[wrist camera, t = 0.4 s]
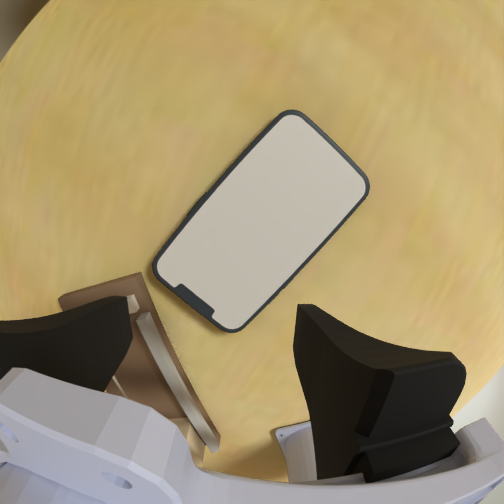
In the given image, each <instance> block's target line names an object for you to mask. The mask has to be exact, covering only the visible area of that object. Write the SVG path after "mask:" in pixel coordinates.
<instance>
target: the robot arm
mask: <svg viewBox="0 0 504 504" xmlns="http://www.w3.org/2000/svg"><path fill="white" fill-rule="evenodd" d="M132 340H133V333H132V327H131V321H130V315H129V308H128V301H127V296H116V295H114V296H109V297H105V298H102V299H99V300H96V301H93V302H90V303H87V304H84V305H82V306H79V307H76V308H73V309H69V310H66V311H63V312H60V313H56V314H53V315H48V316H44V317H39V318H32V319H24V320H11V321H0V504H478V503H480V502H481V501H482V500H483V499H484V498H485V497H487V496H488V495H489V494H490V493H491V492H492V491H493V490H494V489H495V488H496V487H497V486H498V485H499V484H500V483H501V482H502V481H503V480H504V441H503V440H502V438H501V437H500V436H499V434H498V433H497V432H496V431H495V429H494V428H493V427H492V426H491V424H490V423H489V422H488V420H487V419H486V418H482V419H480V420H478V421H475V422H473V423H471V424H469V425H467V426H464V427H463V428H461V429H460V430H459V431H457V432H456V433H455V434H454V433H453V431H452V430H451V428H450V427H452V425H453V419H452V418H451V417H450V415H449V414H450V412H451V410H452V409H453V407H454V405H455V403H456V401H457V400H458V398H459V396H460V394H461V392H462V389H463V387H464V385H465V380H466V369H465V366H464V365H463V364H462V363H461V362H460V361H459V360H458V359H457V358H456V356H455V355H454V354H453V353H451V352H440V351H425V350H418V349H412V348H407V347H402V346H398V345H394V344H391V343H387V342H384V341H381V340H378V339H375V338H373V337H370V336H368V335H366V334H363V333H361V332H359V331H357V330H355V329H353V328H351V327H349V326H348V325H346V324H344V323H342V322H341V321H339V320H337V319H336V318H334V317H333V316H331V315H330V314H328V313H326V312H325V311H323V310H322V309H320V308H319V307H317V306H315V305H313V304H298V305H297V315H296V324H295V333H294V342H293V351H294V358H295V365H296V369H297V372H298V376H299V379H300V382H301V386H302V389H303V392H304V396H305V399H306V403H307V406H308V410H309V415H310V421H309V422H305V423H301V424H296V425H292V426H287V427H283V428H278V429H276V430H275V435H276V437H277V440H278V442H279V444H280V447H281V449H282V452H283V454H284V456H285V459H286V462H287V470H288V479H289V483H287V482H277V481H269V480H261V479H254V478H248V477H242V476H237V475H232V474H227V473H222V472H218V471H213V470H209V469H205V468H201V467H197V466H195V464H194V462H193V460H192V456H191V452H190V448H189V444H188V442H187V441H186V439H185V437H184V436H183V434H182V433H181V431H180V430H179V428H178V427H177V425H176V424H174V423H173V422H172V421H170V420H169V419H167V418H166V417H164V416H163V415H162V414H160V413H159V412H157V411H156V410H155V409H153V408H152V407H150V406H147V405H144V404H142V403H139V402H136V401H133V400H131V399H128V398H126V397H122V396H117V395H113V394H108V393H104V391H105V389H106V387H107V386H108V384H109V382H110V381H111V379H112V377H113V376H114V374H115V372H116V371H117V369H118V368H119V366H120V364H121V363H122V361H123V359H124V358H125V356H126V354H127V352H128V350H129V347H130V345H131V342H132Z"/></svg>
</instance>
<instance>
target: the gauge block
mask: <svg viewBox="0 0 504 504" xmlns="http://www.w3.org/2000/svg"><path fill="white" fill-rule="evenodd" d="M169 420H170V421H172V422H173V423H174V424H176V425H177V427H178V428H179V430H180V431H181V433H182V434H183V436H184V437H185V439H186V441H187V442H188V444H189V448H190V452H191V456H192V460H193V462H194V464H195V466H197V467H201V468H202V464H203V457H204V450H205V442H204V441H203V439H202V438H201V436H200V435H199V433H198V432H197V430H196V429H195V427H194V426H193V424H192V423H191V421H190V420H189V418H188V417H187V418H175V419H169Z"/></svg>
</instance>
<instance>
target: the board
mask: <svg viewBox="0 0 504 504" xmlns="http://www.w3.org/2000/svg"><path fill="white" fill-rule="evenodd" d="M114 295H116V296H127V301H128V308H129V315H130V321H131V327H132V333H133V340H132V342H131V345H130V347H129V350H128V352H127V354H126V356H125V358H124V359H123V361H122V363H121V364H120V366H119V368H118V369H117V371H116V372H115V374H114V376H113V377H112V379H111V381H110V382H109V384H108V386H107V387H106V390H107V391H108V393H109V394H113V395H117V396H122V397H126V398H128V399H131V400H133V401H136V402H139V403H142V404H144V405H147V406H150V407H152V408H153V409H155V410H156V411H157V412H159V413H160V414H162V415H163V416H164V417H166V418H167V419H175V418H187V417H188V418H189V420H190V421H191V423H192V424H193V426H194V427H195V429H196V430H197V432H198V433H199V435H200V436H201V438H202V439H203V441H204V442H205V445H207V446H208V448H209V449H210V451H211V452H219V446H220V434H219V433H218V431H217V429H216V428H215V426H214V424H213V423H212V421H211V419H210V418H209V416H208V414H207V412H206V411H205V409H204V407H203V405H202V403H201V402H200V400H199V398H198V396H197V394H196V393H195V391H194V389H193V387H192V385H191V383H190V381H189V379H188V377H187V375H186V373H185V372H184V370H183V368H182V366H181V364H180V362H179V359H178V357H177V355H176V353H175V351H174V349H173V347H172V345H171V343H170V341H169V338H168V336H167V334H166V332H165V330H164V327H163V325H162V323H161V320H160V318H159V316H158V314H157V311H156V309H155V306H154V304H153V302H152V299H151V297H150V294H149V292H148V289H147V287H146V284H145V281H144V279H143V276H142V274H141V272H138V273H135V274H131V275H128V276H124V277H121V278H117V279H114V280H111V281H107V282H104V283H100V284H97V285H93V286H90V287H86V288H83V289H80V290H76V291H73V292H69V293H66V294H64V295H62V296H61V297H59V298H58V301H59V303H60V305H61V308H62V310H63V311H66V310H69V309H73V308H76V307H79V306H82V305H84V304H87V303H90V302H93V301H96V300H99V299H102V298H105V297H109V296H114Z"/></svg>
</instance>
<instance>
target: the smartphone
mask: <svg viewBox="0 0 504 504" xmlns="http://www.w3.org/2000/svg"><path fill="white" fill-rule="evenodd" d="M369 190H370V184H369V180H368V178H367V176H366V175H365V173H364V172H363V171H362V170H361V169H360V168H359V167H358V166H357V165H356V164H355V163H354V162H353V160H352V159H351V158H350V157H349V156H348V155H347V154H346V153H345V152H344V151H343V150H342V149H341V148H340V147H339V146H338V145H337V144H336V143H335V142H334V141H333V140H332V139H331V138H330V137H329V136H328V135H327V134H326V133H324V132H323V131H322V130H321V129H320V128H319V127H318V126H317V125H316V124H315V123H314V122H313V121H312V120H310V119H309V118H308V117H307V116H306V115H305V114H303V113H302V112H300V111H297V110H286V111H283V112H282V113H280V114H279V115H278V116H277V117H276V118H275V119H274V120H273V121H272V122H271V123H270V124H269V125H268V126H267V127H266V128H265V129H264V130H263V131H262V132H261V133H260V134H259V136H258V137H257V138H256V139H255V140H254V141H253V142H252V143H251V144H250V145H249V146H248V147H247V148H246V149H245V150H244V152H243V153H242V154H241V155H240V156H239V157H238V158H237V159H236V160H235V161H234V162H233V164H232V165H231V166H230V167H229V168H228V169H227V170H226V171H225V173H224V174H223V175H222V176H221V177H220V178H219V179H218V181H217V182H216V183H215V184H214V185H213V186H212V187H211V189H210V190H209V191H208V192H207V193H205V194H204V195H203V196H202V197H201V198H200V199H199V201H198V202H197V203H196V204H195V205H194V207H193V208H192V209H191V210H190V211H189V213H188V214H187V217H186V218H185V220H184V221H183V222H182V223H181V225H180V226H179V227H178V228H177V230H176V231H175V232H174V233H173V235H172V236H171V237H170V238H169V240H168V241H167V242H166V243H165V245H164V246H163V247H162V249H161V250H160V251H159V252H158V254H157V255H156V256H155V258H154V260H153V264H152V269H153V273H154V275H155V276H156V278H157V279H158V280H159V281H160V282H161V283H163V284H164V285H165V286H166V287H167V288H169V289H170V290H171V291H172V292H173V293H175V294H176V295H177V296H178V297H180V298H181V299H182V300H183V301H185V302H186V303H187V304H188V305H190V306H191V307H192V308H193V309H195V310H196V311H197V312H198V313H200V314H201V315H202V316H204V317H205V318H206V319H207V320H209V321H210V322H211V323H213V324H214V325H215V326H217V327H218V328H219V329H221V330H222V331H225V332H228V333H236V332H239V331H241V330H242V329H244V328H245V327H246V326H247V325H248V324H249V323H250V322H251V321H252V320H253V319H254V318H255V317H256V316H257V315H258V314H259V313H260V312H261V311H262V310H263V309H264V308H265V307H266V306H267V305H268V304H269V303H270V302H271V301H272V300H273V299H274V298H275V297H276V296H277V295H278V294H279V292H280V291H281V290H282V289H284V288H285V287H286V286H287V285H288V284H289V283H290V282H291V281H292V280H293V278H294V277H295V276H296V275H297V274H298V273H299V272H300V271H301V269H302V268H303V267H304V266H305V265H306V264H307V263H308V262H309V261H310V260H311V259H312V258H313V257H314V256H315V255H316V253H317V252H318V251H319V250H320V249H321V248H322V247H323V246H324V245H325V244H326V243H327V241H328V240H329V239H330V238H331V237H332V236H333V235H334V234H335V233H336V232H337V230H338V229H339V228H340V227H341V226H342V225H343V224H344V223H345V221H346V220H347V219H348V218H349V217H350V216H351V215H352V214H353V212H354V211H355V210H356V209H357V208H358V207H359V206H360V204H361V203H362V202H363V201H364V200H365V199H366V197H367V196H368V193H369Z"/></svg>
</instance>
